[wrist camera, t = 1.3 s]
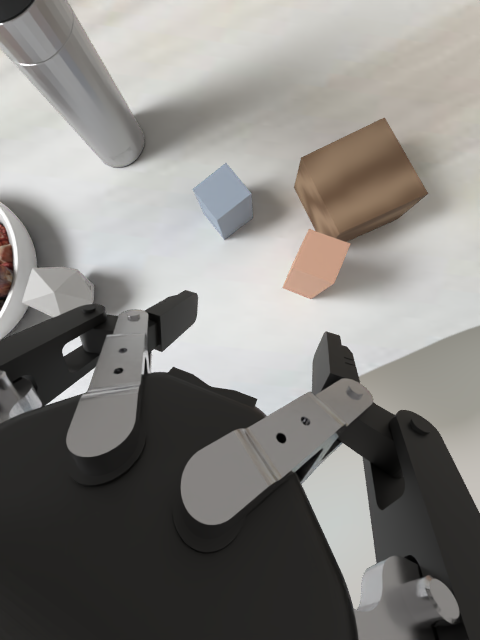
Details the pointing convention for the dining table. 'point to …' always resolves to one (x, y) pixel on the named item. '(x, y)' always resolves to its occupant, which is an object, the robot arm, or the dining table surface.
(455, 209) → the dining table surface
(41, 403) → the robot arm
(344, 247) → the pillar block
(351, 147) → the walnut block
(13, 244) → the bowl
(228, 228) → the slate cube
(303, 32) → the dining table surface
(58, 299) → the die
